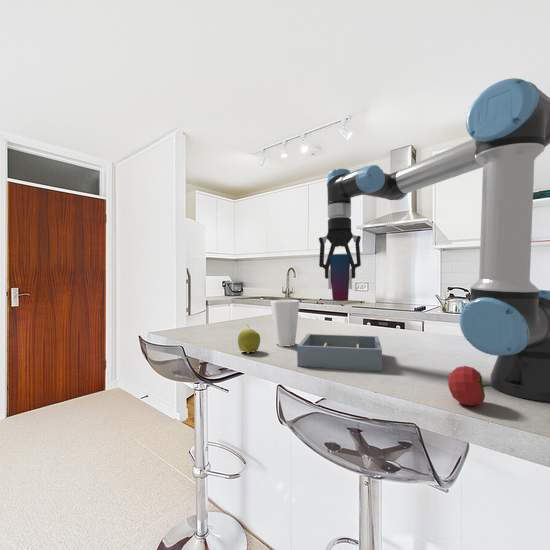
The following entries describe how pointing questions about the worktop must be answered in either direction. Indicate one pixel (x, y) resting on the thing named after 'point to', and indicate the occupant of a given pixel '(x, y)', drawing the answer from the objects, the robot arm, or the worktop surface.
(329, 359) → the walled box
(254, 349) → the apple
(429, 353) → the worktop surface
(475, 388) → the tomato
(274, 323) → the cup
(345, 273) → the cup
